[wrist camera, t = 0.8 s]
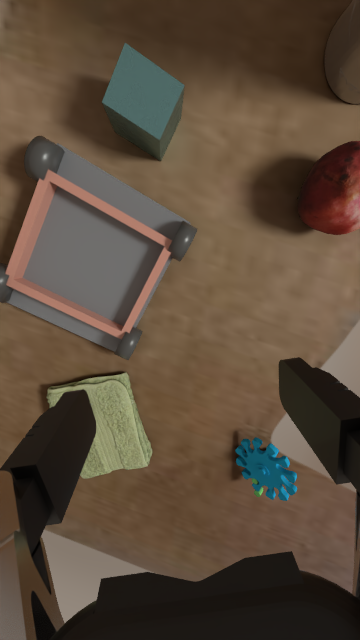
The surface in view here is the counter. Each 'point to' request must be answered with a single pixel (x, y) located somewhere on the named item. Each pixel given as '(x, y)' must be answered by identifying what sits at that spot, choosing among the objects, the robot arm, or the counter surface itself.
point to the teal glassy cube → (143, 102)
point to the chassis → (89, 249)
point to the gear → (266, 469)
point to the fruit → (333, 191)
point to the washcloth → (110, 424)
